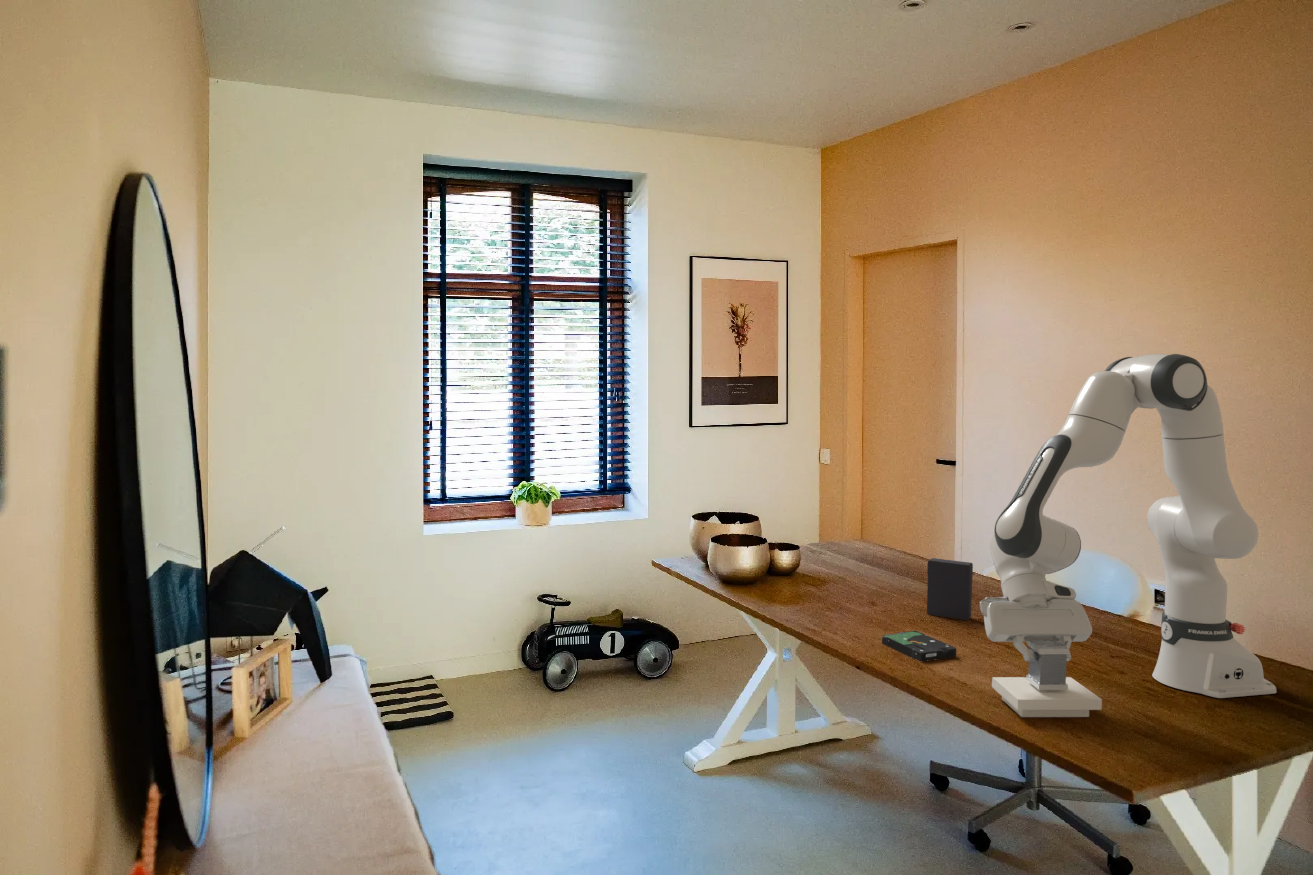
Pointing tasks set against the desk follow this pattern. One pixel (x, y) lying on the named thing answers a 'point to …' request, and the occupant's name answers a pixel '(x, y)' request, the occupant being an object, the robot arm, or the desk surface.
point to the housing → (1048, 665)
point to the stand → (1046, 698)
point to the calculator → (949, 588)
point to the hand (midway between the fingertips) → (1048, 659)
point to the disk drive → (919, 646)
